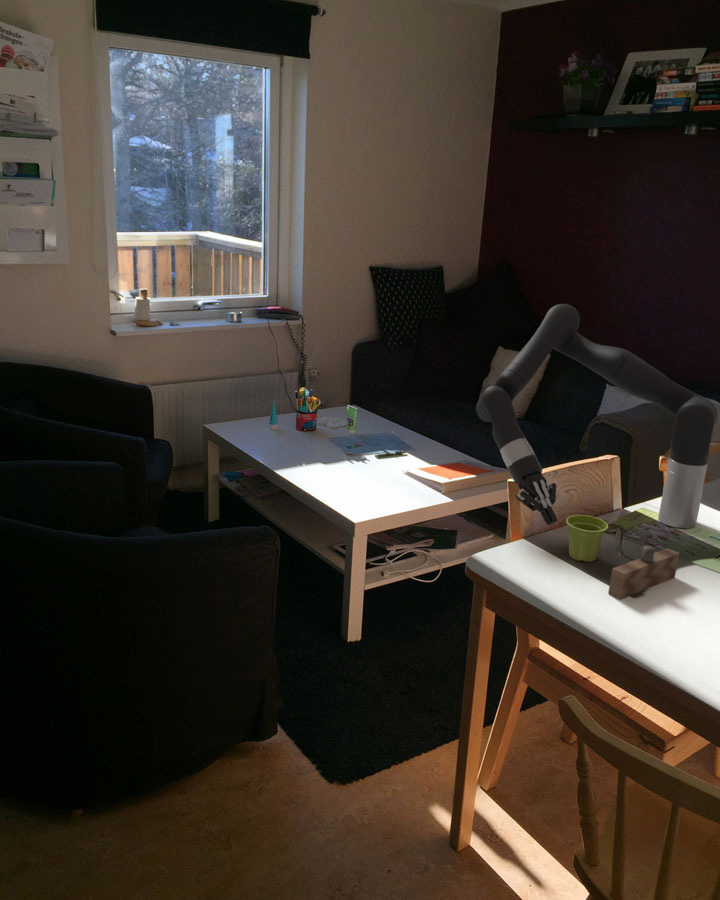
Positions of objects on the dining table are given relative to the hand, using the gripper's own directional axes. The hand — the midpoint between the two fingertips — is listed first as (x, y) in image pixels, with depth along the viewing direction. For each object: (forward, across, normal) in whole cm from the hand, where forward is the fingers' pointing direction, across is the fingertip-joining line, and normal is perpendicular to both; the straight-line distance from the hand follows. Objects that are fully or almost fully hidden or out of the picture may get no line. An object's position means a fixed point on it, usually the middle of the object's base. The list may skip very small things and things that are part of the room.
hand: (552, 523), depth 194 cm
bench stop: (+22, 0, +15) cm, 27 cm away
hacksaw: (+10, -14, +2) cm, 18 cm away
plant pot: (+10, 0, +3) cm, 11 cm away
